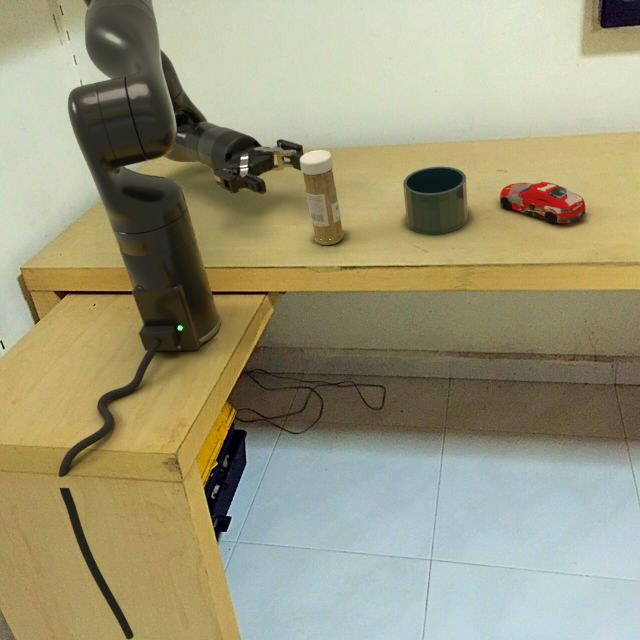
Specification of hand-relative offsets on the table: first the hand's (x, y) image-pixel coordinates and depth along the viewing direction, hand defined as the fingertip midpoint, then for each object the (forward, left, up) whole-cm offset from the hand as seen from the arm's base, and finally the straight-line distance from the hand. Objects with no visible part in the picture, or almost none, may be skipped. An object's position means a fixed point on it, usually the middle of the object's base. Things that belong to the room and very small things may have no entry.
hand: (286, 176), depth 114 cm
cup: (-2, -22, -8) cm, 24 cm away
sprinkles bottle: (-6, -6, -8) cm, 12 cm away
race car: (-1, -37, -8) cm, 38 cm away
